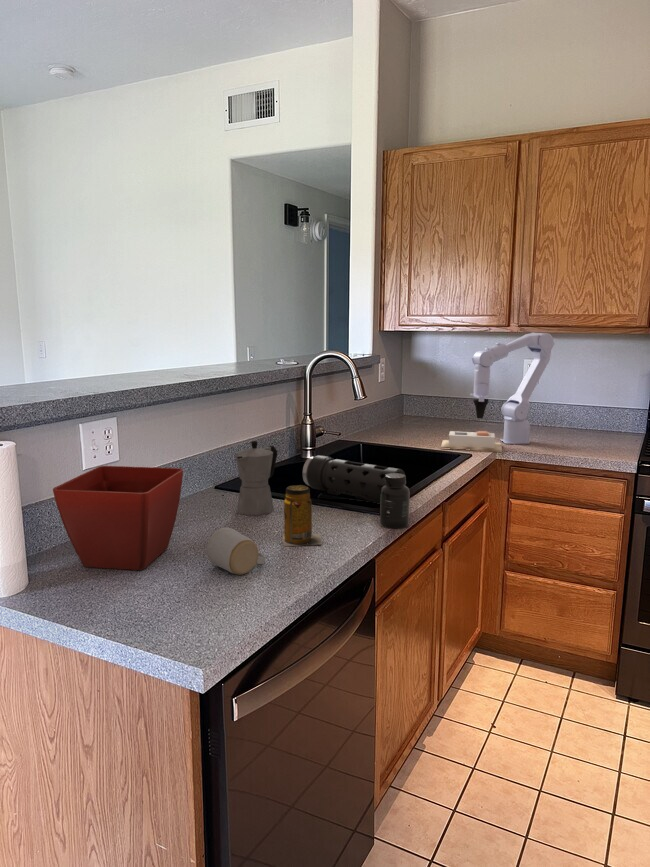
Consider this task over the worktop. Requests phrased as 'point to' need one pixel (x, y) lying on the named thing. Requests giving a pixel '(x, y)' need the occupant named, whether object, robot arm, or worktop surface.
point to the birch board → (496, 447)
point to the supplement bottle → (394, 502)
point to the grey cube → (461, 433)
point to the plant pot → (120, 514)
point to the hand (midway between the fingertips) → (479, 418)
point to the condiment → (298, 518)
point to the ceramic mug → (233, 551)
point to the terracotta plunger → (482, 433)
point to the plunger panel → (471, 440)
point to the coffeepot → (255, 479)
